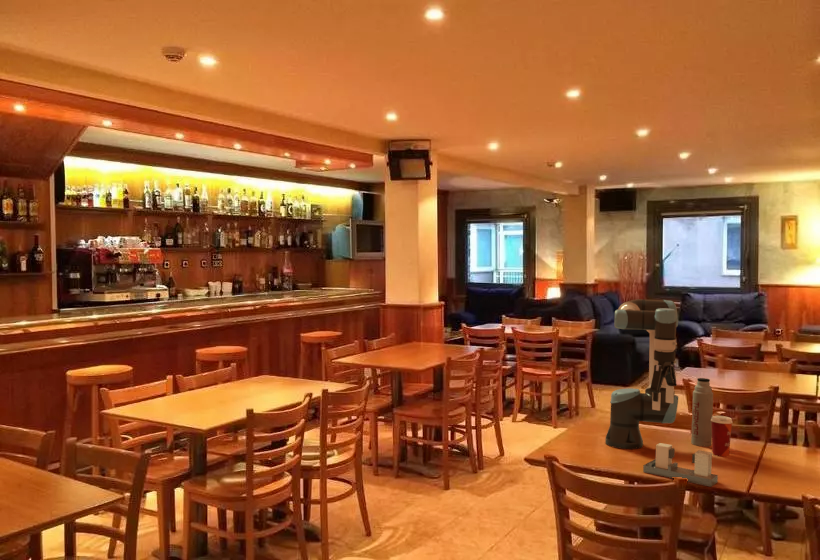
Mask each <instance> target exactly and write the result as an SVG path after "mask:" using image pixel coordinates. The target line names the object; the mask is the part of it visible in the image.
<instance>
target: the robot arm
mask: <svg viewBox="0 0 820 560" xmlns="http://www.w3.org/2000/svg"><path fill="white" fill-rule="evenodd" d="M678 325H679V317H678V310H677V305H676V303H675V302H674V301H673V300H667V299H642V298H641V299H640V298H639V299H631V300H628V301H625V302H623V303H622V304H620V305H619V307H618V309H616V310H615V311H614V328H615V329H621V330H641V331H643V330H644V331H646V332H648V334H649V356H648V358H649V360H648V361H649V363H648V365H649V367H648V369H649V370H648V376H649V377H648V386H647V387H646V388H645V390H644V393H643V392H641V390H640V389H639V388H633V387H632V388H619V389H616V390H613V391H612V392H611V394H610V413H609V414H610V416H609V417H610V419H609V420H610V423H609V427H608V430H607V432H606V434H605V439H604V440H605V442H604V443H605V445H608V446H610V447H612V448H617V449H623V450H624V449H625V450H637V449H638V450H639V449H641V448H643V445H644V440H643V437H642V433H641V429H640V422H648V423H657V424H658V423H659V424H673V423H674V422H675V421H676V417H677V412H678V404H679V396H678V395H676V394H675V387H677V386H678V385H677V384H678V383H677V378H676V371H675V361H676V346H677V345H678V343H677V337H676V335H677V327H678Z"/></svg>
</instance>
